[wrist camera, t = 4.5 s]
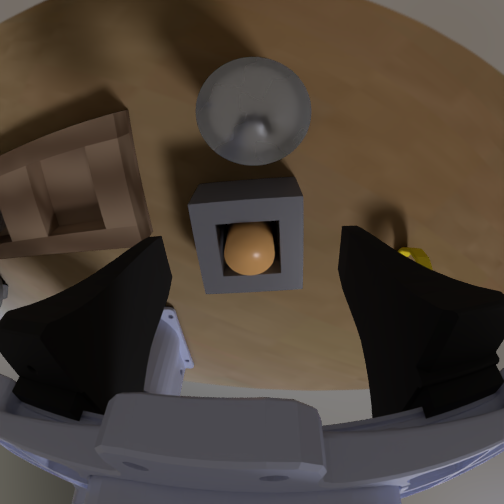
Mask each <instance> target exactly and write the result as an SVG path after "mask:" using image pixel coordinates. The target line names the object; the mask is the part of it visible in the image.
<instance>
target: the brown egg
mask: <svg viewBox="0 0 504 504" xmlns="http://www.w3.org/2000/svg"><path fill="white" fill-rule="evenodd" d="M224 257H225V260H226V263H227V264H228V266H229V267H230V268H231V269H232V270H234V271H235V272H237V273H239V274H242V275H257V274H260V273H262V272H264V271H266V270H267V269H268V268H269V267H270V266H271V265H272V263H273V261H274V257H275V251H274V241H273V232H272V225H271V222H270V221H260V222H245V223H231V224H229V228H228V234H227V239H226V245H225V250H224Z"/></svg>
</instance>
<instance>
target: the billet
mask: <svg viewBox="0 0 504 504" xmlns="http://www.w3.org/2000/svg"><path fill="white" fill-rule="evenodd" d="M6 227H7V226H6V224H5V221H4V218H3V215H2V212H1V209H0V232H1V231H2V230H3V229H5V228H6Z"/></svg>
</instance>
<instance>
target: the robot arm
mask: <svg viewBox="0 0 504 504" xmlns="http://www.w3.org/2000/svg"><path fill="white" fill-rule="evenodd" d="M338 272H339V276H340V281H341V285H342V289H343V292H344V295H345V297H346V300H347V303H348V305H349V308H350V311H351V313H352V316H353V319H354V321H355V324H356V327H357V330H358V333H359V336H360V339H361V343H362V348H363V353H364V358H365V363H366V368H367V374H368V380H369V388H370V395H371V405H372V418H371V419H366V420H360V421H354V422H348V423H340V424H333V425H326V426H322V422H321V418H320V416H319V414H318V411H317V409H315V408H313V407H312V406H309V405H307V404H304V403H301V402H299V401H296V400H294V399H280V398H269V397H259V398H214V397H213V398H212V397H191V396H180V393H181V387H182V383H183V378H184V373H185V368H193V367H194V363H193V360H192V357H191V355H190V352H189V349H188V347H187V344H186V341H185V338H184V335H183V333H182V330H181V327H180V324H179V321H178V318H177V315H176V312H175V310H174V309H173V308H172V307H165V305H166V302H167V299H168V295H169V291H170V286H171V281H172V274H171V271H170V267H169V263H168V259H167V256H166V252H165V248H164V244H163V240H162V236H156V237H147V238H145V239H143V240H142V241H140V242H139V243H137V244H136V245H134V246H133V247H131V248H130V249H129V250H127V251H126V252H124V253H123V254H122V255H120V256H119V257H118V258H116V259H115V260H113V261H112V262H111V263H109V264H108V265H106V266H105V267H103V268H102V269H100V270H99V271H97V272H96V273H94V274H93V275H91V276H90V277H88V278H86V279H85V280H83V281H81V282H79V283H78V284H76V285H74V286H72V287H70V288H68V289H66V290H64V291H62V292H60V293H58V294H56V295H53V296H51V297H49V298H46V299H44V300H41V301H39V302H36V303H33V304H30V305H27V306H24V307H21V308H17V309H14V310H10V311H8V312H6V313H5V315H4V316H3V317H2V319H1V320H0V352H1V354H2V355H3V357H4V358H5V359H6V360H7V362H8V363H9V364H10V365H11V367H12V368H13V369H14V370H15V371H16V373H17V374H18V375H19V376H20V377H19V379H18V381H17V382H16V381H14V380H13V379H11V378H9V377H7V376H4V375H2V374H0V444H1V445H2V446H3V447H5V448H6V449H8V450H9V451H10V452H12V453H13V454H15V455H17V456H19V457H21V458H22V459H24V460H26V461H28V462H30V463H31V464H33V465H35V466H37V467H39V468H41V469H43V470H45V471H47V472H49V473H51V474H53V475H55V476H57V477H60V478H62V479H64V480H66V481H68V482H71V483H72V484H73V486H74V487H75V492H74V496H73V500H72V504H401V498H404V497H407V496H410V495H413V494H416V493H418V492H421V491H424V490H426V489H429V488H431V487H434V486H436V485H439V484H441V483H443V482H446V481H448V480H450V479H452V478H454V477H456V476H458V475H461V474H463V473H465V472H467V471H469V470H471V469H473V468H475V467H477V466H478V465H480V464H482V463H484V462H486V461H488V460H489V459H491V458H493V457H495V456H496V455H498V454H500V453H501V452H503V451H504V368H503V369H502V370H501V371H500V372H499V370H498V368H497V366H496V364H498V362H499V357H498V355H497V354H496V351H497V349H498V348H499V346H500V344H501V343H502V341H503V340H504V294H503V293H502V292H500V291H496V290H491V289H487V288H482V287H478V286H474V285H471V284H468V283H464V282H461V281H458V280H455V279H453V278H450V277H447V276H445V275H443V274H440V273H438V272H435V271H433V270H431V269H429V268H427V267H425V266H423V265H421V264H419V263H417V262H415V261H413V260H411V259H409V258H408V257H406V256H404V255H403V254H401V253H399V252H398V251H396V250H394V249H393V248H391V247H390V246H388V245H387V244H385V243H384V242H382V241H381V240H379V239H378V238H376V237H375V236H373V235H372V234H370V233H369V232H367V231H365V230H364V229H362V228H360V227H358V226H342V233H341V244H340V254H339V264H338ZM170 315H172V316H170Z"/></svg>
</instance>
